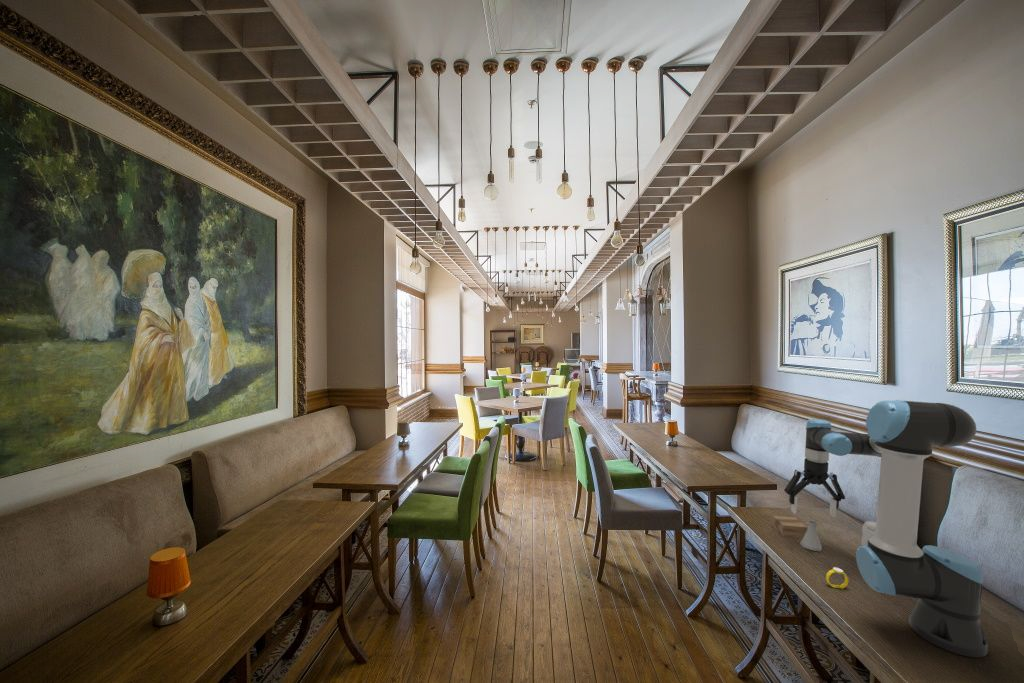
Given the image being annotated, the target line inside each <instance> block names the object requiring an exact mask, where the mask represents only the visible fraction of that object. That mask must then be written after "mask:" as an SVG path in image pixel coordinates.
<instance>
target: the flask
mask: <svg viewBox="0 0 1024 683" xmlns="http://www.w3.org/2000/svg"><path fill="white" fill-rule="evenodd" d="M817 525H818V522H817V521H815V520H812V519H808V520H807V531H806V533H805V535H804V537H803V539H801V541H800V543H799V545H800V546H801V547H802V548H803V549H806V550H809V551H814V552H822V550H823V547H822V546H823V545H822V543H821V541H820V537H819V534H818V530H817V527H818V526H817Z"/></svg>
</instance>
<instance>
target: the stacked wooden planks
mask: <svg viewBox="0 0 1024 683" xmlns="http://www.w3.org/2000/svg"><path fill="white" fill-rule="evenodd" d="M771 525H772V528H773V529H774V530H775V531H776V532H777V533H778V534H779V535H780V536H781V537H782V538H788V539H789V538H793V539H801V540H802V539H803V537H804V535H805V533H806V531H807V528H808V526H806V525H805V524H804V523H803V522H801V521H800V520H799V519H798V518H797V517H795V516H794V517H792V516H783V515H781V516H780V515H773V516H772V524H771Z"/></svg>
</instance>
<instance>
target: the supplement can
mask: <svg viewBox="0 0 1024 683" xmlns="http://www.w3.org/2000/svg"><path fill="white" fill-rule="evenodd" d="M861 529H862V530H861V542H860V543H861V545H860V546H863V545H865V546H867V544H868V537H869V536H870V535H872V534H875V531H876V521H873V520H866V521H864V524H862V528H861Z"/></svg>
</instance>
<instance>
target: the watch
mask: <svg viewBox="0 0 1024 683" xmlns="http://www.w3.org/2000/svg"><path fill="white" fill-rule="evenodd" d="M835 573H836V574H839V575H843V576H844V582H843V583H841V584H840V585H839V584H832V583H831V581H830V578H831V575H832V574H835ZM847 575H848V574H846V573H845V572H844V570H843V569H841V568H839V567H837V566H835V567H832V569H829V570H828V572H827V573H826V574H825V580H826V582H827V584H828V585H829V586H830V587H832V588H835V589H842V590H843V589H844V588H847V586H848V584H849V576H847Z"/></svg>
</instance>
